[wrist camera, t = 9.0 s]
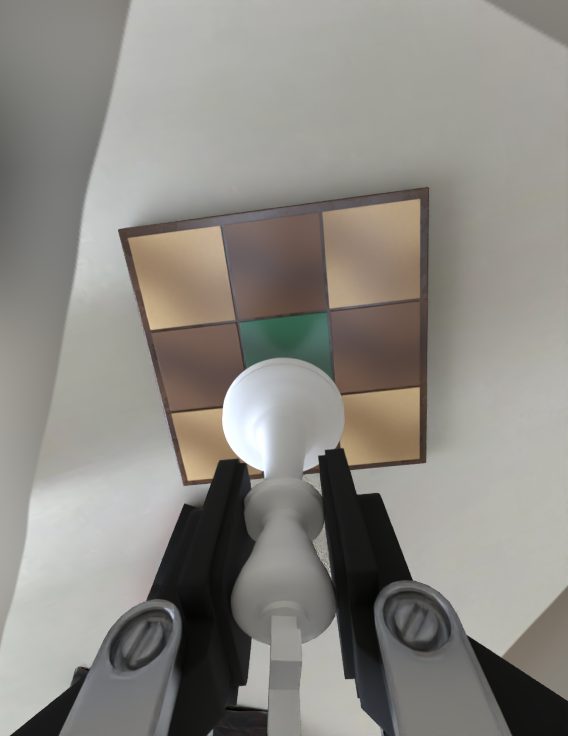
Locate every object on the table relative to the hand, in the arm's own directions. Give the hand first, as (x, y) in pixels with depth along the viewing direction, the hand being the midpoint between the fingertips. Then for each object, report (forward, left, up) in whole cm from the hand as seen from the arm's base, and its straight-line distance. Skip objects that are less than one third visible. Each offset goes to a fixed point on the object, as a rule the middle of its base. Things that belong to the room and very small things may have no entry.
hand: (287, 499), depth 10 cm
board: (0, 0, -16) cm, 16 cm away
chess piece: (0, 0, -5) cm, 5 cm away
